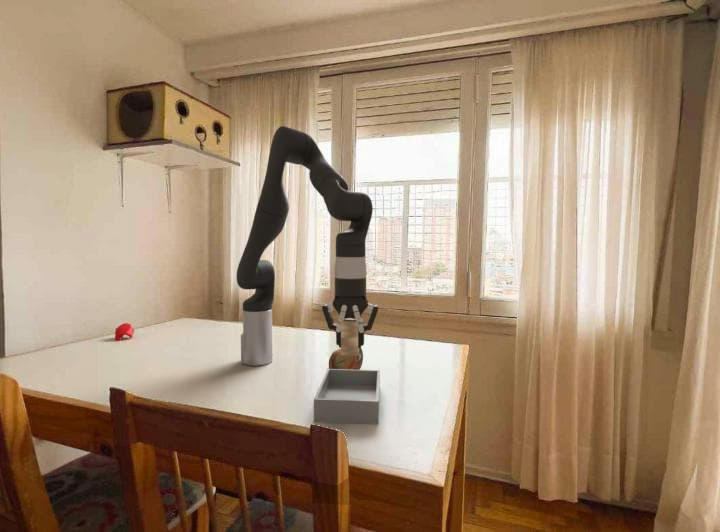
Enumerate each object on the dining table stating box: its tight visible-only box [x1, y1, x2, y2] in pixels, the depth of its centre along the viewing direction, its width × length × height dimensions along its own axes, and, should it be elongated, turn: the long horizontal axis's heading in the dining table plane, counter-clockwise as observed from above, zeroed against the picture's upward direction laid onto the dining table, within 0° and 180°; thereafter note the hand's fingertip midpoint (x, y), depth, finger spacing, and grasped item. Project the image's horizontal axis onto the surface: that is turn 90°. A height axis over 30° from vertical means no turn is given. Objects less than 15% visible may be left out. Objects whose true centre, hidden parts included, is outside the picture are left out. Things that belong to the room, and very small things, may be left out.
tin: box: [328, 347, 364, 370], centre depth 111 cm, size 15×3×8 cm, turn 148°
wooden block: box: [340, 318, 359, 356], centre depth 90 cm, size 4×4×8 cm
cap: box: [114, 322, 135, 342], centre depth 152 cm, size 8×6×6 cm
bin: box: [313, 368, 381, 425], centre depth 91 cm, size 14×20×5 cm
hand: (350, 346), depth 90 cm, fingers closed on wooden block, 4 cm apart
